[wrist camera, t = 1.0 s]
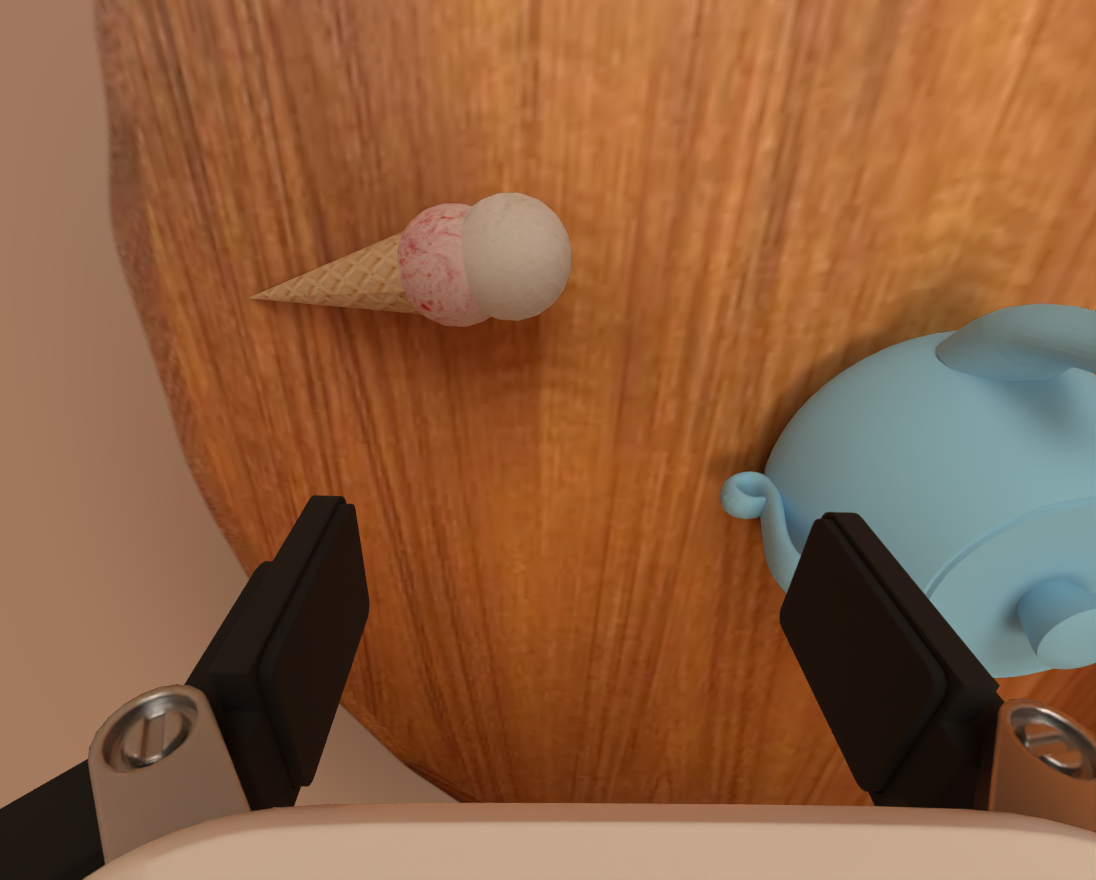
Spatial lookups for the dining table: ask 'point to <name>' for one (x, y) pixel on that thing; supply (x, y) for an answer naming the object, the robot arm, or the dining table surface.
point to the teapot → (959, 479)
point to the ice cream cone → (451, 265)
